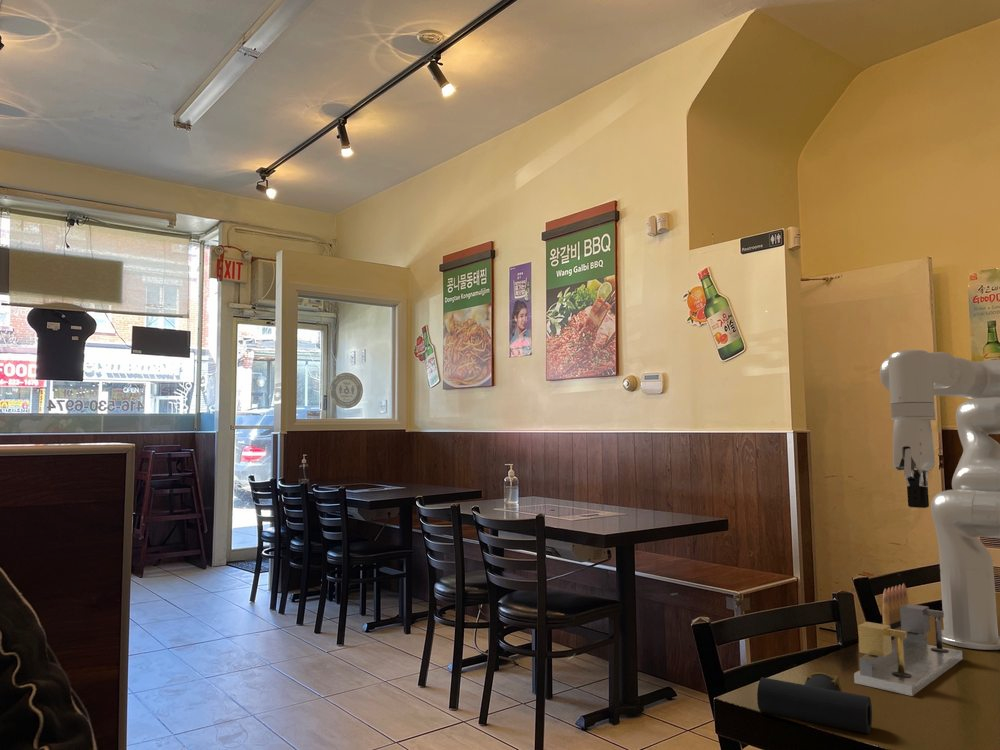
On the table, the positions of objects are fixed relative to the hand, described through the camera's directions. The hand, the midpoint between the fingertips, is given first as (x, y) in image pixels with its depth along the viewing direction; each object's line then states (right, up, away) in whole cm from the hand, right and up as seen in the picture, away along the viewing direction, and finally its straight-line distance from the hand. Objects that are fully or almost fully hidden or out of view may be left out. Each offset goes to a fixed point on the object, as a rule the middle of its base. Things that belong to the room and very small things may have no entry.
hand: (918, 507), depth 137 cm
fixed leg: (+2, -27, +1) cm, 27 cm away
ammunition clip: (+1, -30, +9) cm, 32 cm away
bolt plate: (-6, -28, -8) cm, 30 cm away
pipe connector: (-33, -27, -29) cm, 51 cm away
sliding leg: (-14, -26, -14) cm, 33 cm away
